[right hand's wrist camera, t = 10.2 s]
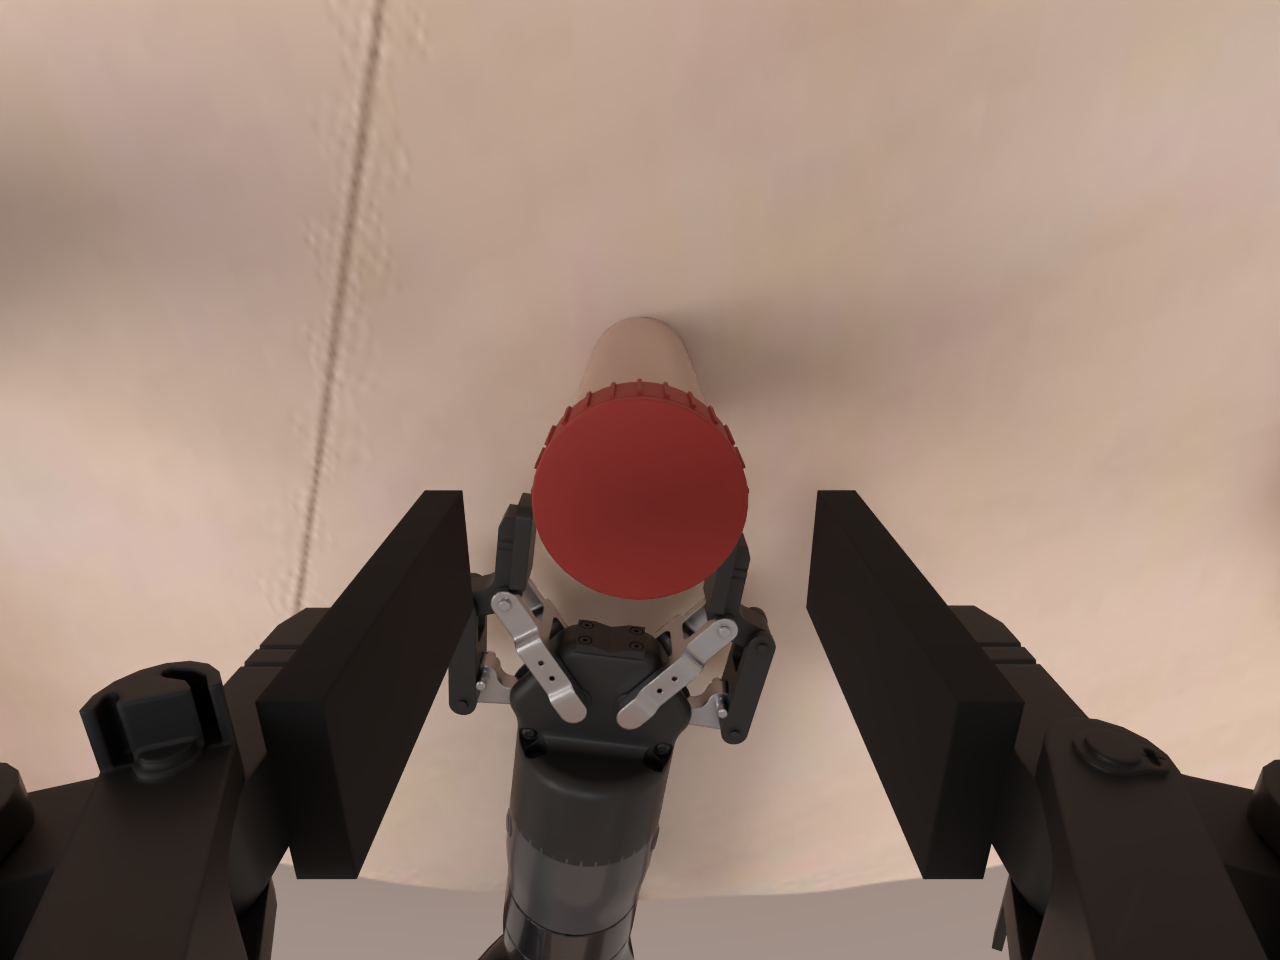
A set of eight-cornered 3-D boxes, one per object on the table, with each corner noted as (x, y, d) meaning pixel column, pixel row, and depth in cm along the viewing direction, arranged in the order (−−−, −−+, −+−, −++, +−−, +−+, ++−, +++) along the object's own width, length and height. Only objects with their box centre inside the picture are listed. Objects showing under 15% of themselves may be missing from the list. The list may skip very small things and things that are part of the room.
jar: (708, 377, 33) (769, 516, 17) (629, 433, 34) (621, 612, 18) (650, 296, 31) (661, 368, 16) (570, 356, 32) (506, 479, 17)
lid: (778, 497, 19) (793, 527, 17) (619, 599, 20) (617, 638, 18) (663, 335, 17) (666, 349, 15) (498, 456, 18) (482, 482, 16)
